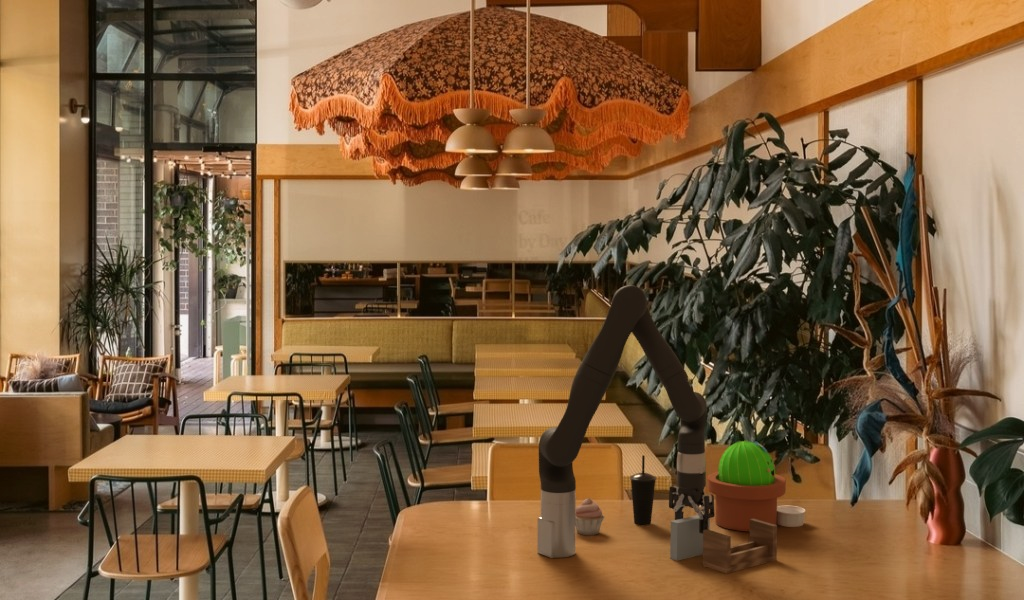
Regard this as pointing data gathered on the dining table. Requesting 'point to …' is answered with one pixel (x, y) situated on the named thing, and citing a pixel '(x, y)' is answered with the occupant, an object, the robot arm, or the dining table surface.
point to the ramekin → (790, 516)
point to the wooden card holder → (740, 548)
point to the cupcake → (588, 518)
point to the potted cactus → (745, 487)
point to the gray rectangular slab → (686, 538)
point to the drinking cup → (642, 496)
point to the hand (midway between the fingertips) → (691, 529)
